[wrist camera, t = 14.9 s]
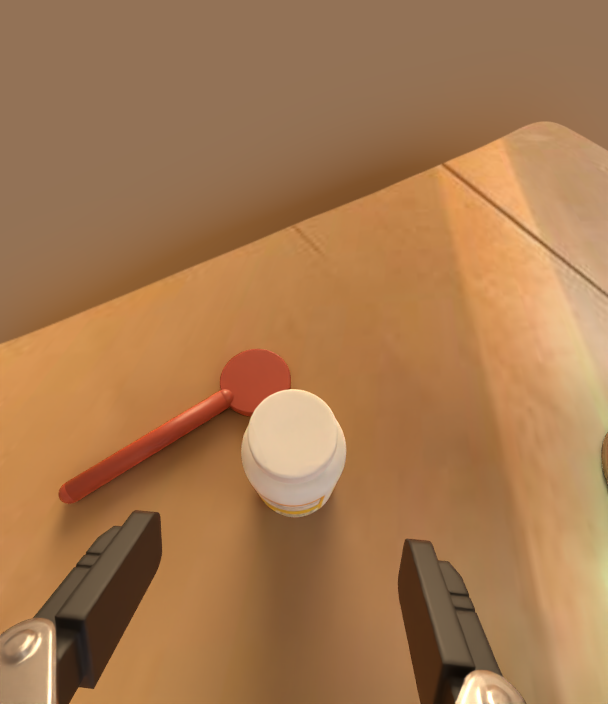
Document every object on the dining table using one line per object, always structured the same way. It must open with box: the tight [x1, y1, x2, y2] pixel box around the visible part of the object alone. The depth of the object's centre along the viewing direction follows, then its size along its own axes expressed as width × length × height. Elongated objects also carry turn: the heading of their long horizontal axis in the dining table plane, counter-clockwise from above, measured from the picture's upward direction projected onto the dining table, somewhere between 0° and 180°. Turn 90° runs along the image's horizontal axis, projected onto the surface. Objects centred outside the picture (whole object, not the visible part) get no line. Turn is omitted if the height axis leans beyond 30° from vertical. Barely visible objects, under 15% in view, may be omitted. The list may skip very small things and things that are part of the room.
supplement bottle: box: [241, 389, 346, 517], centre depth 20 cm, size 5×5×10 cm
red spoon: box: [59, 349, 291, 504], centre depth 25 cm, size 17×5×1 cm, turn 125°
